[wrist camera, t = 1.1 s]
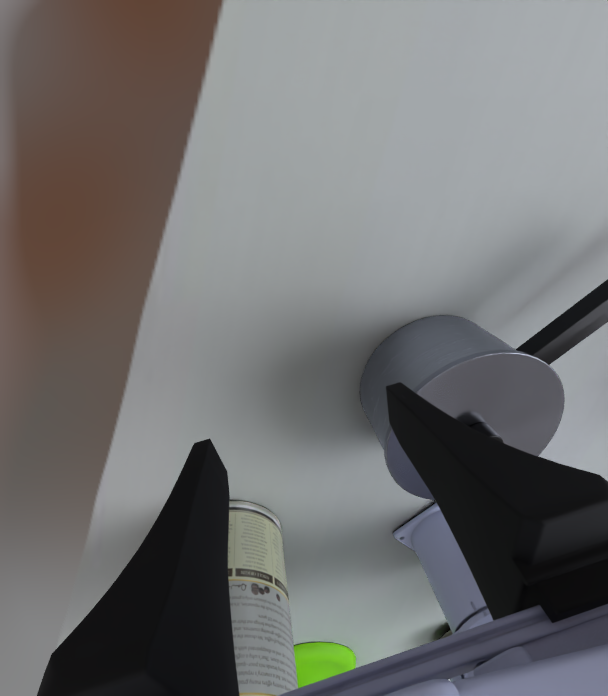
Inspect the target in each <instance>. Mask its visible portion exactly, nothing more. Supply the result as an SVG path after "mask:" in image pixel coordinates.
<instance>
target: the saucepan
mask: <svg viewBox="0 0 608 696" xmlns="http://www.w3.org/2000/svg"><path fill="white" fill-rule="evenodd" d="M607 322H608V280H606V281H605V282H604V283H602V284H601V285H600V286H598V287H597V288H596V289H594V290H593V291H592V292H591V293H589V294H588V295H587V296H585V297H584V298H583V299H581V300H580V301H579V302H577V303H576V304H575V305H573V306H572V307H571V308H570V309H568V310H567V311H566V312H564V313H563V314H562V315H560V316H559V317H558V318H556V319H555V320H554V321H552V322H551V323H550V324H548V325H547V326H546V327H545V328H543V329H542V330H541V331H539V332H538V333H537V334H535V335H534V336H533V337H531V338H530V339H529V340H527V341H526V342H525V343H523V344H522V345H521V346H520V347H518V348H517V349H516V350H515V349H514V348H512V347H511V346H509V345H508V344H506V343H505V342H503V341H502V340H500V339H498V338H497V337H495V336H494V335H492V334H491V333H489V332H488V331H486V330H485V329H483V328H481V327H480V326H478V325H477V324H475V323H473V322H472V321H470V320H467V319H465V318H462V317H457V316H451V315H439V316H431V317H426V318H422V319H419V320H416V321H414V322H412V323H409V324H407V325H405V326H403V327H402V328H400V329H398V330H397V331H395V332H394V333H393V334H391V335H390V336H389V337H388V338H387V339H385V340H384V341H383V342H382V343H381V344H380V345H379V347H378V348H377V349H376V350H375V351H374V353H373V354H372V356H371V357H370V359H369V360H368V362H367V364H366V366H365V369H364V371H363V374H362V378H361V383H360V400H361V404H362V407H363V409H364V412H365V414H366V416H367V418H368V420H369V422H370V424H371V426H372V428H373V430H374V432H375V434H376V436H377V437H378V439H379V441H380V443H381V445H382V447H383V449H384V457H385V461H386V465H387V467H388V469H389V472H390V474H391V476H392V477H393V479H394V480H395V481H396V483H397V484H398V485H399V486H401V487H402V488H403V489H404V490H406V491H407V492H409V493H411V494H413V495H415V496H418V497H422V498H425V499H431V500H435V499H434V497H433V496H432V494H431V492H430V491H429V489H428V488H427V486H426V484H425V483H424V481H423V480H422V478H421V477H420V475H419V474H418V472H417V471H416V469H415V467H414V466H413V464H412V463H411V461H410V460H409V458H408V457H407V455H406V453H405V452H404V450H403V449H402V447H401V445H400V444H399V442H398V440H397V438H396V436H395V434H394V431H393V429H392V427H391V425H390V423H389V414H388V404H387V394H386V386H389V385H392V384H395V383H399V382H401V383H403V384H404V385H406V386H407V387H408V388H410V389H411V390H412V391H414V392H415V393H417V394H418V395H420V396H421V397H422V398H424V399H425V400H427V401H428V402H430V403H431V404H433V405H434V406H436V407H437V408H439V409H440V410H442V411H444V412H445V413H447V414H448V415H450V416H452V417H453V418H455V419H457V420H458V421H460V422H462V423H464V424H465V425H467V426H469V427H471V428H473V429H475V430H477V431H478V432H480V433H483V434H485V435H487V436H489V437H491V438H493V439H495V440H497V441H500V442H502V443H504V444H507V445H509V446H512V447H514V448H517V449H519V450H522V451H524V452H527V453H529V454H532V455H535V456H539V454H540V453H541V452H542V451H543V450H544V449H545V447H546V446H547V445H548V443H549V442H550V440H551V439H552V437H553V435H554V434H555V432H556V430H557V428H558V426H559V423H560V421H561V418H562V414H563V410H564V390H563V386H562V383H561V381H560V378H559V376H558V375H557V373H556V372H555V371H554V369H553V368H552V367H550V366H549V364H551V363H552V362H553V361H555V360H556V359H558V358H559V357H560V356H562V355H563V354H564V353H566V352H567V351H569V350H570V349H571V348H573V347H574V346H575V345H577V344H578V343H579V342H581V341H582V340H584V339H585V338H586V337H588V336H589V335H590V334H592V333H593V332H594V331H596V330H597V329H599V328H600V327H601V326H603V325H604V324H605V323H607Z"/></svg>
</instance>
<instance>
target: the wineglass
mask: <svg viewBox="0 0 608 696" xmlns="http://www.w3.org/2000/svg"><path fill="white" fill-rule="evenodd" d="M294 654H295V663H296V672H297V682H298V688H301V687H303V686H306V685H309V684H312V683H315V682H318V681H321V680H324V679H327V678H329V677H332V676H335V675H338V674H341V673H344V672H347V671H350V670H353V669H355V664H356V656H355V655H354V653H353V651H352V650H350V649H349V648H347V647H345V646H343V645H339V644H335V643H325V642H315V643H304V644H299V645H295V646H294Z"/></svg>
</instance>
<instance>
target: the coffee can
mask: <svg viewBox="0 0 608 696" xmlns="http://www.w3.org/2000/svg"><path fill="white" fill-rule="evenodd" d="M228 579H229V594H230V607H231V620H232V631H233V641H234V652H235V662H236V670H237V679H238V687H239V696H278V695H280V694H283V693H286V692H289V691H292V690H295V689H298V682H297V672H296V663H295V654H294V645H293V636H292V627H291V617H290V608H289V598H288V591H287V581H286V571H285V562H284V553H283V544H282V527H281V524H280V522H279V520H278V519H277V517H276V516H275V515H274V514H273V513H272V512H271V511H269V510H268V509H266V508H265V507H262V506H259V505H257V504H254V503H250V502H244V501H229V534H228Z"/></svg>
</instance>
